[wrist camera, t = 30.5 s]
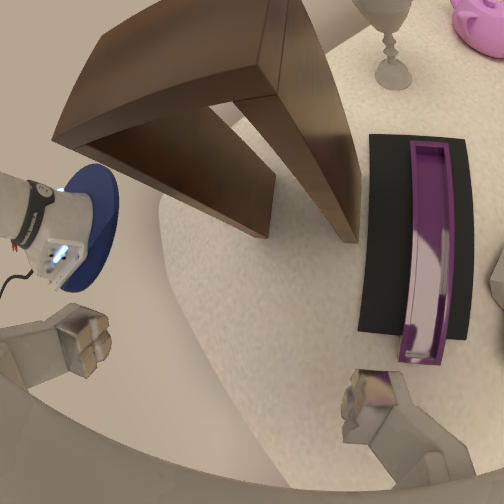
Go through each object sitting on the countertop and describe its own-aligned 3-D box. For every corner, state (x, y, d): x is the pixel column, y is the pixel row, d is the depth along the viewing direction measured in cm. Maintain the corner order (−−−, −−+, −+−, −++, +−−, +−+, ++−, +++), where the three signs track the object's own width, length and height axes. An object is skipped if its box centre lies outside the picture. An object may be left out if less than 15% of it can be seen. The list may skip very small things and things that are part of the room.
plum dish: (436, 360, 24) (440, 365, 22) (396, 357, 26) (397, 362, 24) (445, 154, 26) (448, 143, 24) (408, 151, 28) (409, 140, 26)
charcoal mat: (465, 339, 23) (466, 340, 23) (358, 330, 29) (357, 331, 28) (464, 141, 26) (465, 139, 25) (369, 136, 31) (369, 133, 31)
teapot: (524, 76, 21) (538, 37, 13) (442, 46, 28) (443, 1, 20) (515, 32, 21) (521, -4, 13) (442, 8, 27) (440, -31, 20)
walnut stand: (358, 243, 30) (257, 64, 7) (255, 237, 35) (50, 140, 12) (361, 173, 31) (278, -43, 8) (263, 174, 36) (101, 35, 13)
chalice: (414, 60, 29) (401, -48, 13) (424, 95, 28) (420, -22, 12) (364, 60, 33) (332, -45, 17) (369, 95, 32) (338, -20, 16)
